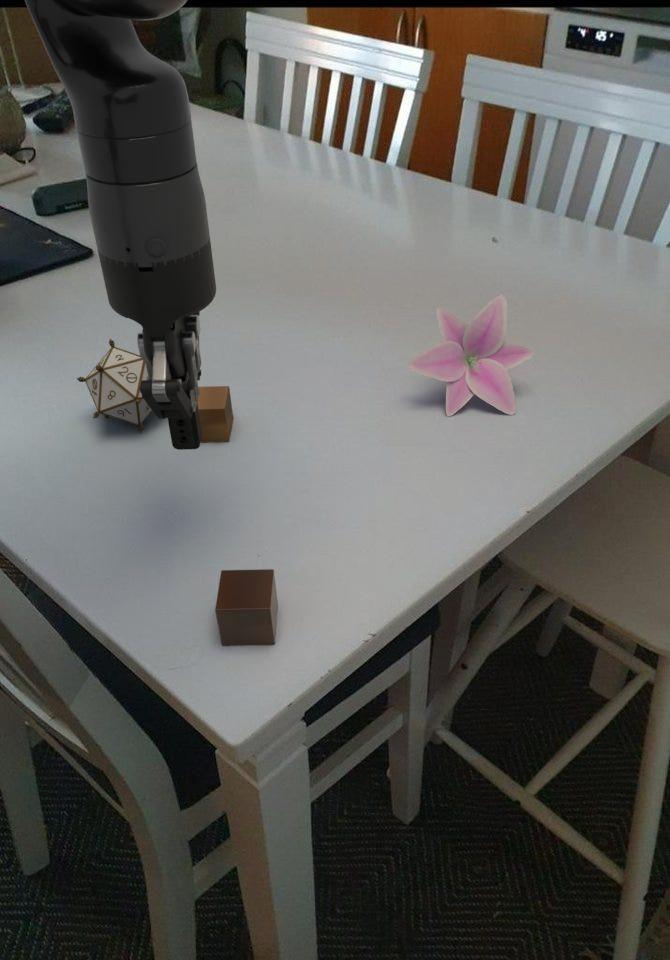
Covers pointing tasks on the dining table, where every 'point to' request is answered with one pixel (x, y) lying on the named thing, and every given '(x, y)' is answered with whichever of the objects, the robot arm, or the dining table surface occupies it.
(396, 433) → the dining table surface
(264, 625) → the walnut block
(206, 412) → the oak block
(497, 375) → the lily
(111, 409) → the game die
